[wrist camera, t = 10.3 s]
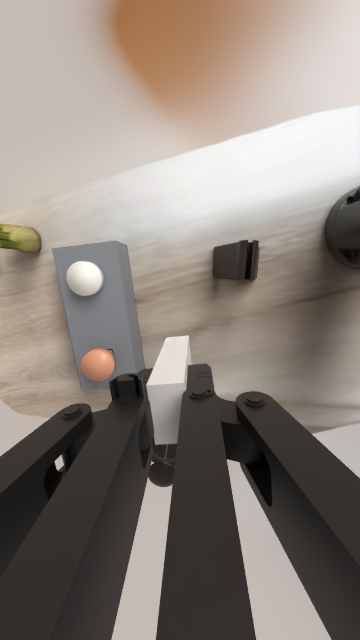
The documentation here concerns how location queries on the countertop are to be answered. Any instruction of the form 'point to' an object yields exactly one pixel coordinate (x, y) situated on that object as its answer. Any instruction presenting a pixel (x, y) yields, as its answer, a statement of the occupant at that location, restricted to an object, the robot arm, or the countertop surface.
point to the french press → (162, 464)
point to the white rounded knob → (85, 278)
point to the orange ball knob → (98, 364)
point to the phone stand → (236, 260)
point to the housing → (102, 308)
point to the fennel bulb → (19, 238)
